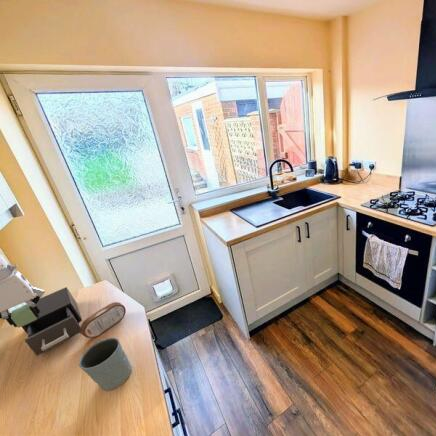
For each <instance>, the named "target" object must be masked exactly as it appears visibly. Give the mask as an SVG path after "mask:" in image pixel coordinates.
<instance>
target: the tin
mask: <svg viewBox="0 0 436 436" xmlns="http://www.w3.org/2000/svg"><path fill="white" fill-rule="evenodd" d="M126 312H127V309H126V307H125V306H124V304H122V302H119V301H118V302H117V301H116V302H111V303H109V304H107V305H106V306H104V307H102V308H101V309H99V310H97V311H96V312H94V313H93V314H91V315H90V316H88V317H86V318H85V319H84V320H83V322H82V323H81V325H80V333H79V334H81V336H84V337H85V338H87V339H94V338H97V337H100V336H101V335H102V334H103V333H105V332H107V331H108V330H109V329H111V328H112V327H113V326H115V325H116V324H117V323H119V322H121V321H122V320H123V318H125V315H126Z"/></svg>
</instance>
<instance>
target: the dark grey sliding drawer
mask: <svg viewBox="0 0 436 436" xmlns="http://www.w3.org/2000/svg"><path fill="white" fill-rule="evenodd" d="M80 327H81V325H80V324H79V322H77V319H76V316H75V313H74V312H73V310H72V309H71V307H70V306H67V307H65V308H63V309H61V310H59V311H57V312H54V313H52V314H50V315H48V316H46V317H44V318H42V319H40V320H38V321H35V322H33V323H31V324H29V325H28V334H27V337H26V338H24V343H26V345H27V346H28V347H29V348H30V350H31V351H32V352H33V353H34V355H35V356H36V357H38V356H40V355H42V354H43V353H46V352H47V351H49V350H51V349H53V348H54V347H57V346H58V345H60V344H62V343H64V342H66V341H68V340H70V339H71V338H73V337H75V336H77V335H79V334H81V333H80Z"/></svg>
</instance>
